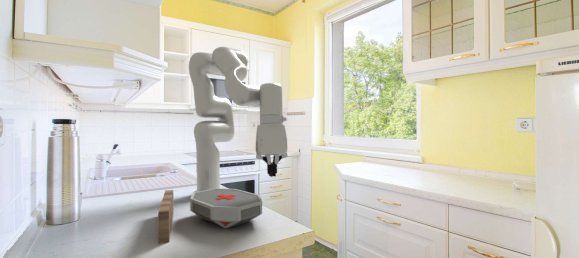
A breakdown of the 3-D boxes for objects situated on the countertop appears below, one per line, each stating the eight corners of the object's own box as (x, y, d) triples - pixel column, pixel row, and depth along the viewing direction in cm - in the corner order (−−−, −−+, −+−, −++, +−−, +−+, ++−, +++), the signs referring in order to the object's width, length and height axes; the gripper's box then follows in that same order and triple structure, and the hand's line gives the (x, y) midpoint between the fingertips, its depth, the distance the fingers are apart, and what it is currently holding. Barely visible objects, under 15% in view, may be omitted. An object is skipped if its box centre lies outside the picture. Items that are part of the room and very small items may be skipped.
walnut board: (165, 214, 98) (165, 190, 98) (173, 213, 99) (173, 189, 99) (158, 243, 75) (158, 212, 74) (169, 241, 76) (168, 211, 75)
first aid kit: (180, 217, 95) (225, 239, 78) (180, 195, 94) (225, 211, 78) (225, 206, 108) (272, 222, 91) (225, 186, 107) (272, 198, 90)
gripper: (288, 120, 103) (289, 172, 103) (246, 121, 98) (247, 175, 98) (296, 120, 96) (297, 176, 96) (251, 120, 91) (252, 179, 91)
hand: (272, 175), depth 97 cm, fingers closed
